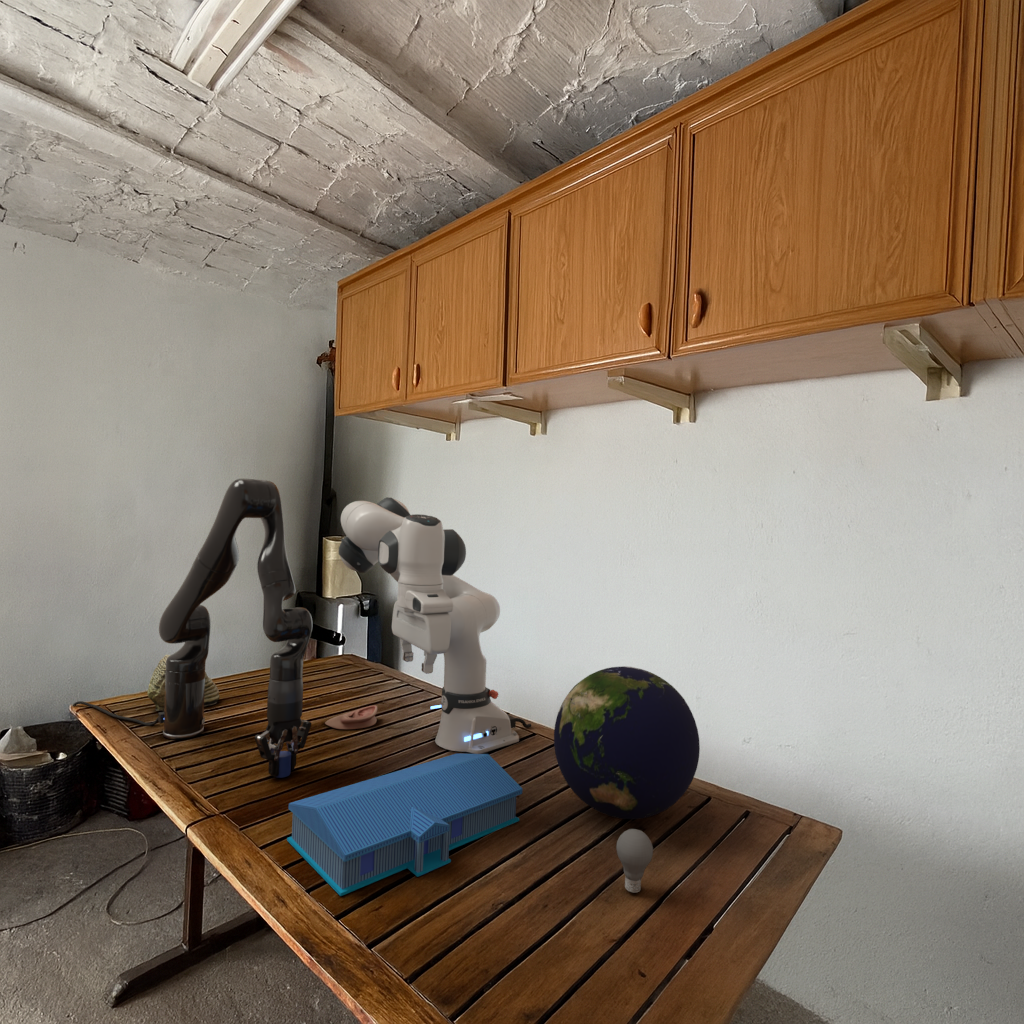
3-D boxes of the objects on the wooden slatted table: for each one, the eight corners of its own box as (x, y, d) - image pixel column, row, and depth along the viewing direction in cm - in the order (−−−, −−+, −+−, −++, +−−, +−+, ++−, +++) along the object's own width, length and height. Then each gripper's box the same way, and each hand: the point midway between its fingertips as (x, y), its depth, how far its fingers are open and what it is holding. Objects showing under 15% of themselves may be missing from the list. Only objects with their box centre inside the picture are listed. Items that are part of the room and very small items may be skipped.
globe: (530, 827, 125) (537, 675, 124) (573, 769, 152) (579, 645, 152) (686, 866, 113) (694, 700, 113) (702, 796, 141) (709, 663, 141)
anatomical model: (320, 712, 173) (339, 699, 184) (319, 726, 173) (339, 713, 184) (365, 717, 170) (382, 704, 181) (364, 732, 170) (381, 718, 181)
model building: (350, 906, 98) (352, 842, 98) (285, 839, 117) (287, 785, 116) (531, 827, 125) (533, 776, 125) (455, 782, 143) (457, 738, 143)
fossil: (144, 707, 182) (145, 655, 182) (212, 696, 194) (213, 647, 194) (151, 716, 175) (153, 662, 175) (221, 703, 188) (223, 653, 188)
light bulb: (610, 879, 108) (613, 822, 108) (644, 879, 109) (647, 822, 109) (619, 902, 102) (622, 840, 102) (655, 901, 103) (658, 840, 103)
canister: (293, 771, 145) (294, 751, 145) (286, 778, 141) (286, 757, 141) (278, 770, 145) (278, 750, 145) (270, 777, 141) (271, 756, 141)
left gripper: (268, 708, 135) (265, 788, 135) (321, 693, 147) (318, 766, 147) (247, 701, 139) (244, 778, 139) (300, 686, 151) (297, 758, 151)
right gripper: (385, 590, 132) (383, 656, 133) (426, 606, 115) (423, 681, 115) (413, 589, 136) (411, 653, 136) (457, 604, 118) (454, 678, 119)
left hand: (282, 772), depth 143 cm, fingers closed on canister, 3 cm apart
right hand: (417, 666), depth 126 cm, fingers open, 8 cm apart
